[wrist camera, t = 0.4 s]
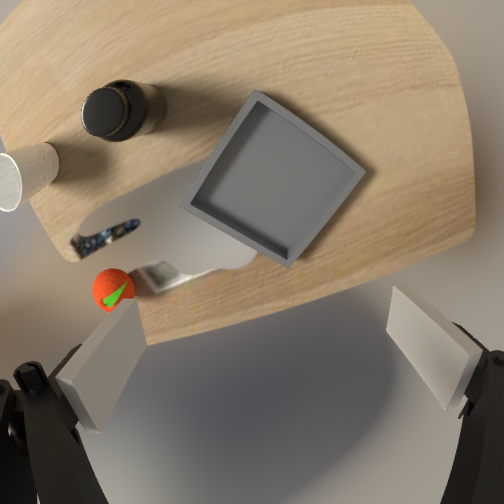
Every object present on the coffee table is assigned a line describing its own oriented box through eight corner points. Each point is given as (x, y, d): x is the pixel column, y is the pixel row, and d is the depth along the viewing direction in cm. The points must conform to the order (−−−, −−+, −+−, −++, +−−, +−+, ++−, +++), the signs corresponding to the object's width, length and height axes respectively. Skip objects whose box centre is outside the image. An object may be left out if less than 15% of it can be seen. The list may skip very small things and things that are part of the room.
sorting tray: (254, 90, 30) (255, 88, 28) (357, 166, 35) (366, 171, 33) (183, 199, 37) (179, 206, 34) (285, 257, 42) (288, 268, 39)
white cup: (45, 128, 30) (2, 140, 21) (71, 166, 33) (30, 186, 24) (21, 161, 32) (-20, 180, 23) (44, 197, 35) (7, 223, 26)
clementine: (121, 248, 40) (103, 273, 34) (152, 278, 43) (140, 307, 37) (95, 274, 42) (78, 300, 36) (124, 301, 45) (111, 329, 39)
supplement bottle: (159, 139, 33) (124, 155, 22) (114, 129, 31) (65, 143, 21) (174, 88, 30) (143, 81, 19) (126, 80, 28) (80, 74, 18)
